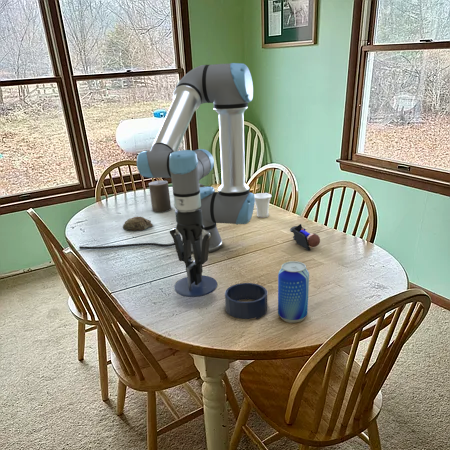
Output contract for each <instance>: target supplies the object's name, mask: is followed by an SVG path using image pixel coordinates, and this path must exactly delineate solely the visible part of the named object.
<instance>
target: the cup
mask: <svg viewBox="0 0 450 450" xmlns="http://www.w3.org/2000/svg"><path fill="white" fill-rule="evenodd" d="M253 194H254V197H255V203H254V206H255V208H256V216H257V218H260V219H264V218H268V217H269V216H270V215H269V214H270V213H269V208H270V202H271V199H272V194H271V193H268V192H258V193H253Z"/></svg>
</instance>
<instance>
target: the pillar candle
mask: <svg viewBox="0 0 450 450" xmlns="http://www.w3.org/2000/svg"><path fill="white" fill-rule="evenodd" d="M169 187H170V186H169V181H167V180H154V181H151V182H148V189H149V196H150V197H149V198H150V203H151V204H150V205H151V209H152V212H155V213H165V212H168V211H170V210H172V204H171V203H172V202H171V195H170V188H169Z"/></svg>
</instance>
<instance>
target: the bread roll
mask: <svg viewBox="0 0 450 450" xmlns="http://www.w3.org/2000/svg"><path fill="white" fill-rule="evenodd" d="M153 225H154V224H153V223H152V221H151V220H150V219H148V218H145V217H143V216H133V217H131V218H128V219H126V220H125V221H124V223H123V225H122V229H123V230H124V231H129V232H130V231H131V232H137V231H139V232H140V231H146V230H147V229H148V228H151V227H154V226H153Z"/></svg>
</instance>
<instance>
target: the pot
mask: <svg viewBox="0 0 450 450" xmlns="http://www.w3.org/2000/svg"><path fill="white" fill-rule="evenodd" d="M244 300H249V301H244ZM224 305H225V307H224V308H225V311H226V314H227V315H229V316H230V317H232V318H235V319H241V320H252V319H254V320H258V319H260V318H263V317H264V316H266V314H267V312H268V290H267V288H266V287H264V286H263V285H261V284H258V283H253V282H241V283H235V284H233V285H230V286H229V287H228V288H227V289H226V290H225V291H224Z"/></svg>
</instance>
